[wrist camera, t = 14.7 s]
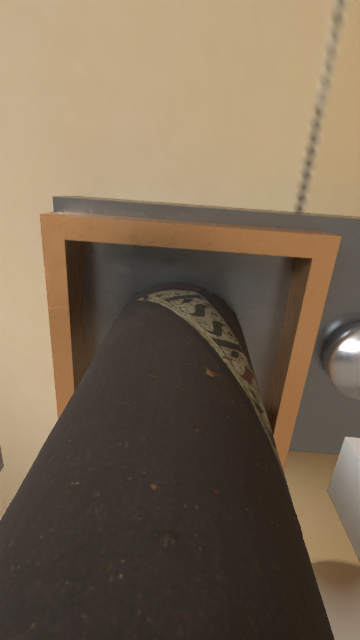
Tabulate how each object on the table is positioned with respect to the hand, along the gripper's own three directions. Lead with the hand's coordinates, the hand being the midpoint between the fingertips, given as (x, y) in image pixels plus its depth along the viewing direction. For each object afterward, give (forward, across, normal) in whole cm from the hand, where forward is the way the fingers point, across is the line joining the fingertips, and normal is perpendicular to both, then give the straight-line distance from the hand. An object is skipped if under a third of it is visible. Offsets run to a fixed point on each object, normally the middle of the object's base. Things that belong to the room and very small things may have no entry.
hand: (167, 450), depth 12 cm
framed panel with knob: (+14, +4, 0) cm, 15 cm away
